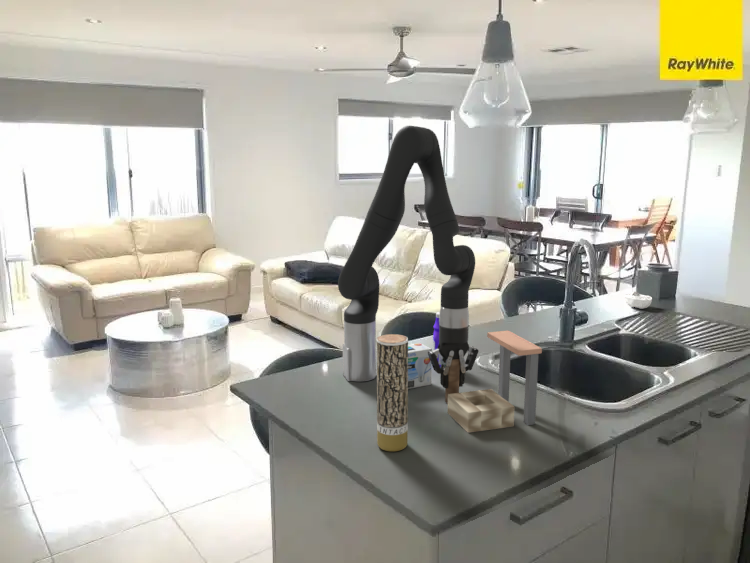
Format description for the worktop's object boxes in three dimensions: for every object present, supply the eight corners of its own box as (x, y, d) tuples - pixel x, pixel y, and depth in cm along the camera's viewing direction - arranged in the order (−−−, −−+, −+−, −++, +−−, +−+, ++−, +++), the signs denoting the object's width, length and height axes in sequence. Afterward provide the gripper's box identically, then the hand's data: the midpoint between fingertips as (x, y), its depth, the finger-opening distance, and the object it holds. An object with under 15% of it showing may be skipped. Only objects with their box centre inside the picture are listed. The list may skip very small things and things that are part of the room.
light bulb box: (399, 391, 170) (399, 353, 168) (388, 383, 176) (388, 347, 174) (432, 384, 175) (432, 348, 173) (420, 377, 181) (420, 342, 179)
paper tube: (376, 439, 141) (375, 334, 136) (405, 438, 141) (405, 333, 136) (378, 453, 134) (378, 343, 129) (409, 452, 135) (410, 342, 130)
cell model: (637, 312, 255) (638, 296, 253) (618, 305, 266) (619, 290, 265) (657, 310, 257) (659, 294, 256) (638, 304, 269) (639, 288, 267)
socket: (467, 432, 144) (468, 412, 143) (447, 412, 155) (447, 394, 154) (513, 426, 147) (514, 406, 146) (490, 407, 159) (491, 388, 158)
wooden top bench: (515, 427, 147) (519, 350, 143) (485, 402, 162) (487, 332, 158) (538, 424, 148) (541, 348, 144) (505, 400, 163) (508, 330, 159)
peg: (448, 404, 160) (449, 360, 158) (442, 399, 163) (443, 356, 161) (461, 403, 161) (462, 359, 159) (455, 398, 164) (456, 355, 162)
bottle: (450, 372, 185) (451, 316, 181) (431, 371, 186) (432, 315, 182) (452, 364, 192) (453, 310, 188) (434, 363, 193) (434, 309, 189)
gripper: (433, 329, 152) (432, 394, 156) (485, 324, 156) (483, 388, 160) (422, 321, 159) (422, 384, 163) (472, 317, 163) (470, 378, 167)
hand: (452, 386), depth 161 cm, fingers closed on peg, 3 cm apart
